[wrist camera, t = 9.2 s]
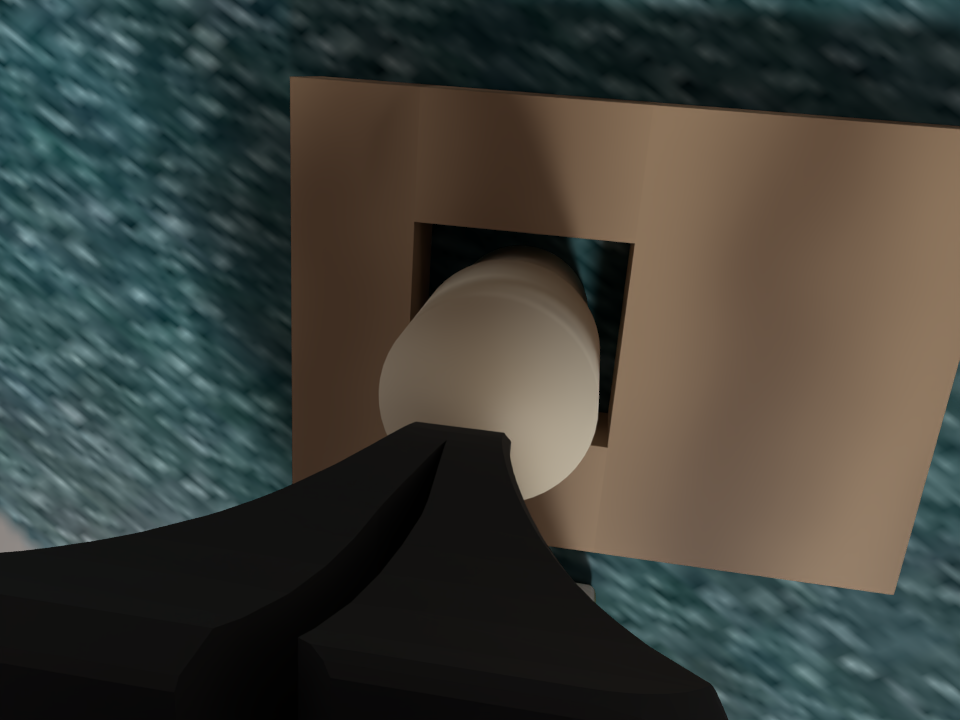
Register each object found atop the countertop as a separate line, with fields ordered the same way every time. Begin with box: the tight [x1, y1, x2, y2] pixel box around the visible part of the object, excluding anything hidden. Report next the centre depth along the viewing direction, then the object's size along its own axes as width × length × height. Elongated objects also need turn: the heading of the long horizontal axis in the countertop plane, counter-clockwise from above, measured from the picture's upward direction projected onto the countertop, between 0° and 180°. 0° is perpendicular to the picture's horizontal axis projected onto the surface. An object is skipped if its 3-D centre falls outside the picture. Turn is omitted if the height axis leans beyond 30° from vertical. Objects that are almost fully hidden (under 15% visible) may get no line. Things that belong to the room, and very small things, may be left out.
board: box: [290, 76, 960, 595], centre depth 19 cm, size 14×10×2 cm
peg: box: [379, 245, 600, 500], centre depth 17 cm, size 4×4×6 cm
